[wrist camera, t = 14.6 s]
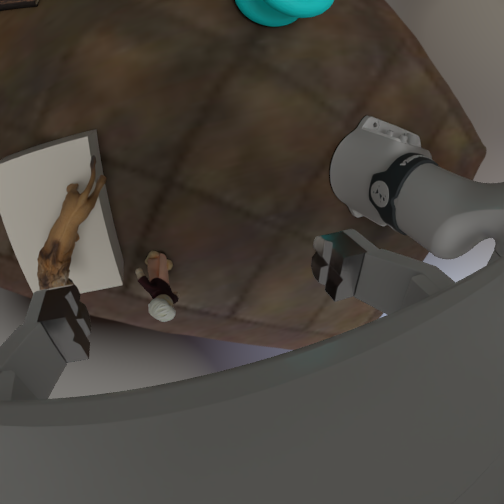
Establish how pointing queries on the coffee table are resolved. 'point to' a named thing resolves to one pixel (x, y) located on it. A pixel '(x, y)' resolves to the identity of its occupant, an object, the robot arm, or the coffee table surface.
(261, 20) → the donuts
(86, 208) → the lion figurine
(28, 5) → the hardcover book
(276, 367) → the robot arm
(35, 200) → the pedestal
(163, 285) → the grandmother figurine
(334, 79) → the coffee table surface
